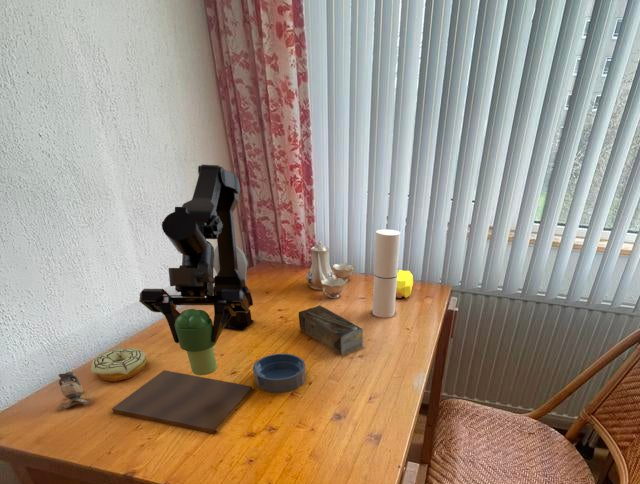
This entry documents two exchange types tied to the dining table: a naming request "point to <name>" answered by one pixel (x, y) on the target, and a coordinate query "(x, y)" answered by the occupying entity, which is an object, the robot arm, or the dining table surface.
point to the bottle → (240, 261)
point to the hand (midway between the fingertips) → (195, 342)
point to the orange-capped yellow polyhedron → (404, 284)
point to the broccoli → (197, 340)
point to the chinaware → (327, 272)
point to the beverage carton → (331, 329)
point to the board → (184, 401)
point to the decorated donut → (118, 364)
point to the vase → (71, 389)
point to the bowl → (279, 373)
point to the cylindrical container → (385, 272)
